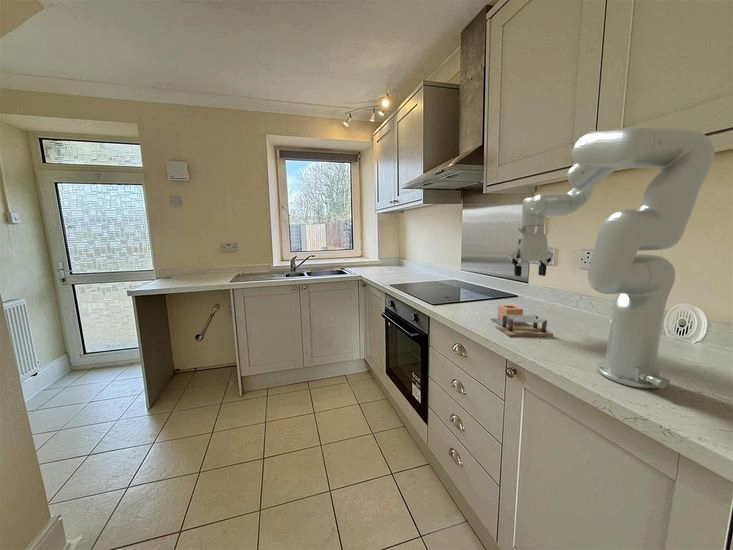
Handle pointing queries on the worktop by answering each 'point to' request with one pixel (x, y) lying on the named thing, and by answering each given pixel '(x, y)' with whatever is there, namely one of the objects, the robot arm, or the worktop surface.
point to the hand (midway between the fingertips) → (529, 275)
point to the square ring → (509, 312)
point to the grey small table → (524, 319)
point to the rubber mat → (506, 324)
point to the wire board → (523, 331)
